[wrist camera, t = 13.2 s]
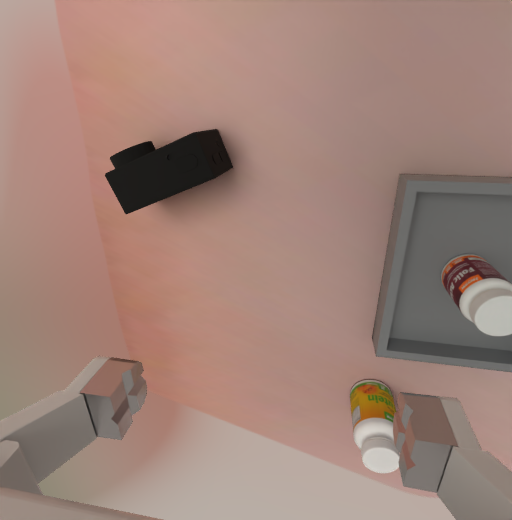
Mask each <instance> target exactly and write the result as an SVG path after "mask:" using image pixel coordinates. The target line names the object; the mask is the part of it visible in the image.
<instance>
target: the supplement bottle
mask: <svg viewBox="0 0 512 520" xmlns="http://www.w3.org/2000/svg"><path fill="white" fill-rule="evenodd" d="M350 401H351V413H352V423H353V435H354V440H355V443H356V445H357V446H358V447H359V448H360V449H361V454H362V461H363V463H364V465H365V466H366V467H367V468H368V469H370V470H372V471H374V472H377V473H390V472H393V471H395V470H396V469H397V468H398V467H399V463H398V462H399V458H400V455H399V451H398V450H397V449H396V448H395V443H394V437H393V420H394V414H395V412H396V409H395V405H394V400H393V396H392V393H391V391H390V389H389V388H388V386H386V385H385V384H384V383H382V382H380V381H377V380H363V381H360V382H358V383H356V384H355V385H354V386H353V388H352V389H351V392H350Z"/></svg>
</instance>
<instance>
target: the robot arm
mask: <svg viewBox="0 0 512 520" xmlns="http://www.w3.org/2000/svg"><path fill="white" fill-rule="evenodd" d="M143 371H144V370H143V366H142V363H141V362H139V361H133V360H125V359H119V358H110V357H103V356H97V357H95V358H94V359H93V360H92V361H91V362H90V363H89V364H88V365H87V366H86V367H85V368H84V370H83V371H82V372H81V373H80V374H79V375H78V376H77V377H76V378H75V379H74V380H73V382H72V383H71V384H70V385H69V386H68V387H67V388H66V389H65V390H64V391H58V392H56V393H54V394H52V395H50V396H48V397H46V398H44V399H42V400H40V401H38V402H36V403H34V404H32V405H30V406H28V407H26V408H24V409H22V410H20V411H18V412H16V413H14V414H12V415H11V416H8V417H6V418H4V419H2V420H0V520H162V519H157V518H152V517H147V516H143V515H137V514H133V513H128V512H123V511H118V510H113V509H108V508H103V507H98V506H94V505H89V504H84V503H79V502H74V501H69V500H64V499H60V498H55V497H50V496H44V495H43V494H42V492H41V490H40V487H39V485H38V483H39V482H41V481H42V480H43V479H45V478H46V477H47V476H48V475H50V474H51V473H52V472H54V471H55V470H56V469H57V468H59V467H60V466H61V465H63V464H64V463H65V462H67V461H68V460H69V459H70V458H72V457H73V456H74V455H76V454H77V453H78V452H79V451H81V450H82V449H83V448H85V447H86V446H87V445H89V444H90V443H91V442H92V441H94V440H95V439H96V438H97V437H104V438H111V439H118V440H122V439H123V437H124V435H125V433H126V432H127V430H128V429H129V427H130V425H131V424H132V422H133V421H132V415H133V414H135V413H136V412H137V411H139V410H140V409H141V407H142V405H143V404H144V401H145V398H146V394H147V384H146V381H145V379H144V378H143V377H142V376H141V374H142V372H143ZM397 404H398V409H399V410H398V411H397V412H395V414H394V420H393V437H394V443H395V448H396V449H397V450H398V451H399V452H400V458H399V462H398V463H399V468H400V472H401V477H402V482H403V486H405V487H410V488H415V489H420V490H425V491H431V492H436V493H437V495H438V496H439V498H440V499H441V500H442V502H443V503H444V504H445V506H446V507H447V508H448V510H449V511H450V512H451V514H452V515H453V516H454V518H455V519H456V520H512V472H511V471H510V470H509V469H508V468H507V467H506V466H504V465H503V464H502V463H501V462H500V461H499V460H498V459H496V458H495V457H494V456H493V455H492V454H491V453H490V452H488V451H482V449H481V447H480V444H479V442H478V440H477V438H476V436H475V434H474V431H473V429H472V427H471V425H470V423H469V421H468V418H467V416H466V414H465V412H464V410H463V407H462V405H461V403H460V401H459V400H458V399H457V398H449V397H439V396H437V397H436V396H430V395H420V394H411V393H402V392H400V394H399V395H398V400H397Z"/></svg>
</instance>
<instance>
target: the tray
mask: <svg viewBox="0 0 512 520" xmlns="http://www.w3.org/2000/svg"><path fill="white" fill-rule="evenodd" d="M465 254H473V255H477V256H480V257H482V258H483V259H485V260H486V261H487V262H488V263H489V264H490V265H491V266H493V267H494V268H495V269H496V270H497V271H498V272H499V273H500V274H501V275H502V276H503V277H504V278H506V279H507V280H508V281H509V282H510V283H511V284H512V177H485V176H452V175H419V174H400V175H399V181H398V187H397V193H396V198H395V204H394V210H393V216H392V222H391V228H390V234H389V240H388V246H387V252H386V258H385V264H384V270H383V276H382V282H381V288H380V294H379V300H378V306H377V312H376V318H375V324H374V329H373V335H372V340H373V345H374V350H375V354H376V356H378V357H386V358H395V359H403V360H412V361H420V362H429V363H437V364H446V365H454V366H463V367H471V368H480V369H488V370H497V371H505V372H512V334H510V335H506V336H491V335H488V334H485V333H483V332H482V331H480V330H479V329H478V328H477V326H476V325H475V324H474V323H473V322H471V321H470V320H468V319H467V318H466V317H464V315H463V314H462V313H461V311H460V310H459V308H458V307H457V305H456V304H455V302H454V301H453V299H452V298H451V296H450V295H449V293H448V292H447V290H446V289H445V287H444V286H443V284H442V281H441V272H442V270H443V268H444V266H445V265H446V264H447V263H448V262H449V261H450V260H451V259H453V258H455V257H457V256H460V255H465Z"/></svg>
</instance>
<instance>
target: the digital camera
mask: <svg viewBox="0 0 512 520" xmlns="http://www.w3.org/2000/svg"><path fill="white" fill-rule="evenodd" d="M216 143H217V144H216ZM110 160H111V162H112V164H113V165H114V167H115V169H114V170H112V171H110V172H108V173H106V174H105V177H106V178H107V180H108V182H109V184H110V186H111V188H112V190H113V191H114V193H115V195H116V197H117V199H118V201H119V203H120V204H121V206H122V208H123V210H124V212H125V214H128V213H131V212H133V211H136V210H138V209H141V208H143V207H146V206H148V205H150V204H153V203H155V202H158V201H160V200H163V199H165V198H168V197H170V196H173V195H175V194H177V193H180V192H182V191H185V190H187V189H190V188H192V187H195V186H197V185H199V184H202V183H204V182H207V181H209V180H212V179H214V178H216V177H218V176H220V175H221V174H223V173H225V172H226V171H228V170H230V169H231V168H233V165H232V163H231V161H230V158H229V156H228V153H227V151H226V148H225V146H224V144H223V141H222V139H221V136H220V134H219V132H218V130H217V129H213V130H206V131H200V132H194V133H191V134H189V135H187V136H185V137H183V138H181V139H179V140H176V141H174V142H172V143H170V144H168V145H166V146H163V147H161V148H159V149H157V150H155V147H154V145H153V143H152V141H148V142H144V143H141V144H138V145H135V146H132V147H130V148H127V149H125V150H123V151H121V152H118V153H117V154H115V155H113V156H111V157H110Z"/></svg>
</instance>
